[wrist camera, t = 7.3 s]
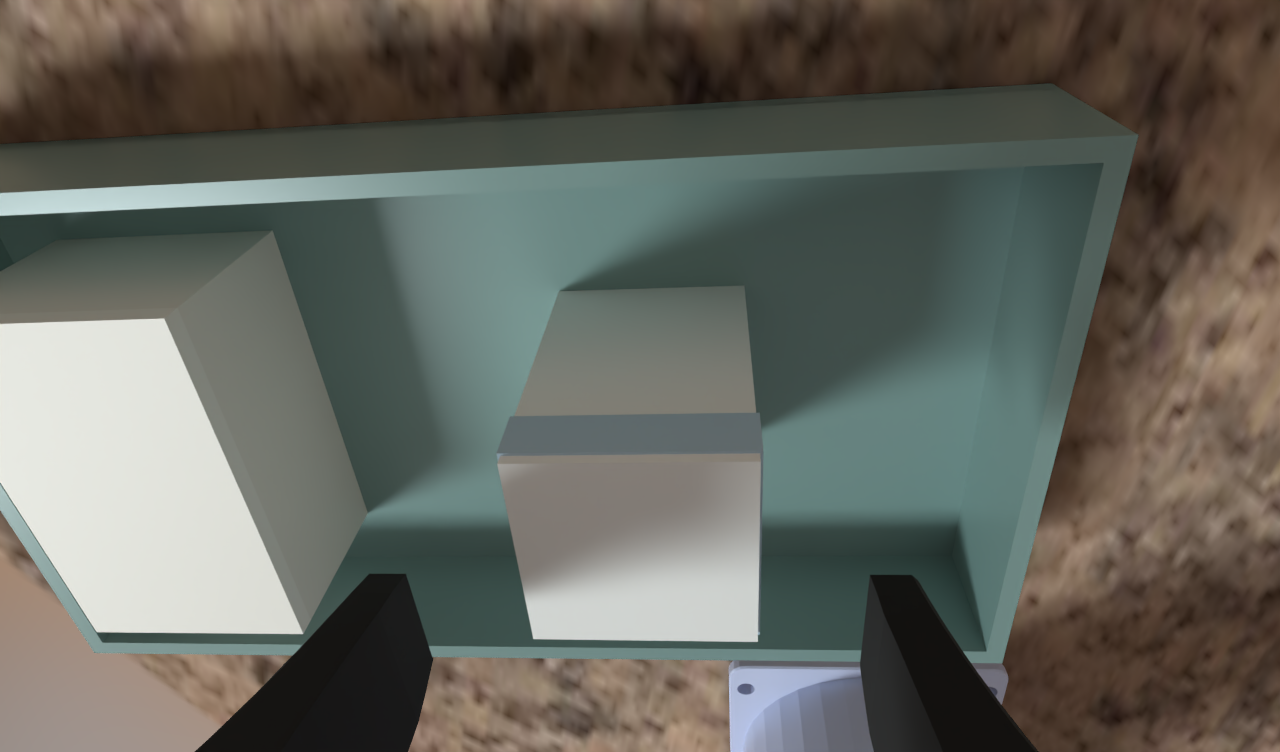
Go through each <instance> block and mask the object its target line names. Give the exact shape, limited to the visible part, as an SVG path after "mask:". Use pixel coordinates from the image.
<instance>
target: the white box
mask: <svg viewBox="0 0 1280 752" xmlns="http://www.w3.org/2000/svg"><path fill="white" fill-rule="evenodd" d="M0 483H1V484H2V486H3V488H4V489H5V491H6V492H7V494H8V495H9V497H10V498H11V500H12V502H13V503H14V505H15V506H16V508H17V509H18V511H19V512H20V514H21V516H22V517H23V519H24V520H25V522H26V523H27V525H28V526H29V528H30V529H31V531H32V533H33V534H34V536H35V537H36V539H37V540H38V542H39V543H40V545H41V547H42V548H43V550H44V551H45V553H46V554H47V556H48V557H49V559H50V561H51V562H52V564H53V565H54V567H55V568H56V570H57V571H58V573H59V574H60V576H61V578H62V579H63V581H64V582H65V584H66V585H67V587H68V588H69V590H70V592H71V593H72V595H73V596H74V598H75V599H76V601H77V602H78V604H79V606H80V607H81V609H82V610H83V612H84V613H85V615H86V616H87V618H88V619H89V621H90V623H91V624H92V626H93V627H94V629H95V630H96V632H123V633H238V634H304V632H305V630H306V628H307V626H308V624H309V623H310V621H311V619H312V617H313V615H314V613H315V611H316V609H317V608H318V606H319V604H320V602H321V600H322V598H323V596H324V594H325V593H326V591H327V589H328V587H329V585H330V583H331V581H332V579H333V578H334V576H335V574H336V572H337V570H338V568H339V566H340V564H341V563H342V561H343V559H344V557H345V555H346V553H347V551H348V549H349V548H350V546H351V544H352V542H353V540H354V538H355V536H356V534H357V533H358V531H359V529H360V527H361V525H362V523H363V521H364V519H365V518H366V516H367V514H368V512H367V509H366V506H365V503H364V500H363V497H362V494H361V491H360V488H359V485H358V482H357V479H356V476H355V473H354V471H353V468H352V465H351V462H350V459H349V456H348V453H347V450H346V447H345V444H344V441H343V438H342V435H341V432H340V429H339V426H338V423H337V420H336V417H335V414H334V411H333V408H332V405H331V402H330V399H329V396H328V393H327V390H326V387H325V384H324V381H323V379H322V376H321V373H320V370H319V367H318V364H317V361H316V358H315V355H314V352H313V349H312V346H311V343H310V340H309V337H308V334H307V331H306V328H305V325H304V322H303V319H302V316H301V313H300V310H299V307H298V304H297V301H296V298H295V295H294V292H293V289H292V286H291V284H290V281H289V278H288V275H287V272H286V269H285V266H284V263H283V260H282V257H281V254H280V251H279V248H278V245H277V242H276V239H275V236H274V233H273V230H270V231H248V232H225V233H203V234H180V235H158V236H135V237H113V238H90V239H67V240H56V241H54V242H52V243H50V244H49V245H47V246H45V247H43V248H42V249H40V250H38V251H36V252H34V253H33V254H31V255H29V256H27V257H25V258H24V259H22V260H20V261H18V262H16V263H15V264H13V265H11V266H9V267H7V268H6V269H4V270H2V271H0Z"/></svg>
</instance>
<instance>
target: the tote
mask: <svg viewBox="0 0 1280 752" xmlns="http://www.w3.org/2000/svg"><path fill="white" fill-rule="evenodd" d="M1138 136H1139V135H1138V134H1136V133H1135V132H1133V131H1131V130H1130V129H1128V128H1126V127H1125V126H1123V125H1121V124H1120V123H1118V122H1116V121H1114V120H1113V119H1111V118H1109V117H1108V116H1106V115H1104V114H1103V113H1101V112H1099V111H1098V110H1096V109H1094V108H1093V107H1091V106H1089V105H1088V104H1086V103H1084V102H1082V101H1081V100H1079V99H1077V98H1076V97H1074V96H1072V95H1071V94H1069V93H1067V92H1066V91H1064V90H1062V89H1061V88H1059V87H1057V86H1056V85H1054V84H1052V83H1048V84H1031V85H1013V86H996V87H979V88H961V89H944V90H927V91H910V92H892V93H875V94H858V95H840V96H823V97H806V98H788V99H771V100H754V101H737V102H719V103H702V104H685V105H667V106H650V107H633V108H615V109H598V110H581V111H564V112H546V113H529V114H512V115H494V116H477V117H460V118H442V119H425V120H408V121H391V122H373V123H356V124H339V125H321V126H304V127H287V128H269V129H252V130H235V131H218V132H200V133H183V134H166V135H148V136H131V137H114V138H97V139H79V140H62V141H45V142H27V143H10V144H0V271H2V270H4V269H6V268H7V267H9V266H11V265H13V264H15V263H16V262H18V261H20V260H22V259H24V258H25V257H27V256H29V255H31V254H33V253H34V252H36V251H38V250H40V249H42V248H43V247H45V246H47V245H49V244H50V243H52V242H54V241H56V240H67V239H90V238H113V237H135V236H158V235H180V234H203V233H225V232H248V231H270V230H273V233H274V236H275V239H276V242H277V245H278V248H279V251H280V254H281V257H282V260H283V263H284V266H285V269H286V272H287V275H288V278H289V281H290V284H291V286H292V289H293V292H294V295H295V298H296V301H297V304H298V307H299V310H300V313H301V316H302V319H303V322H304V325H305V328H306V331H307V334H308V337H309V340H310V343H311V346H312V349H313V352H314V355H315V358H316V361H317V364H318V367H319V370H320V373H321V376H322V379H323V381H324V384H325V387H326V390H327V393H328V396H329V399H330V402H331V405H332V408H333V411H334V414H335V417H336V420H337V423H338V426H339V429H340V432H341V435H342V438H343V441H344V444H345V447H346V450H347V453H348V456H349V459H350V462H351V465H352V468H353V471H354V473H355V476H356V479H357V482H358V485H359V488H360V491H361V494H362V497H363V500H364V503H365V506H366V509H367V512H368V514H367V516H366V518H365V519H364V521H363V523H362V525H361V527H360V529H359V531H358V533H357V534H356V536H355V538H354V540H353V542H352V544H351V546H350V548H349V549H348V551H347V553H346V555H345V557H344V559H343V561H342V563H341V564H340V566H339V568H338V570H337V572H336V574H335V576H334V578H333V579H332V581H331V583H330V585H329V587H328V589H327V591H326V593H325V594H324V596H323V598H322V600H321V602H320V604H319V606H318V608H317V609H316V611H315V613H314V615H313V617H312V619H311V621H310V623H309V624H308V626H307V628H306V630H305V632H304V634H238V633H123V632H96V630H95V629H94V627H93V626H92V624H91V623H90V621H89V619H88V618H87V616H86V615H85V613H84V612H83V610H82V609H81V607H80V606H79V604H78V602H77V601H76V599H75V598H74V596H73V595H72V593H71V592H70V590H69V588H68V587H67V585H66V584H65V582H64V581H63V579H62V578H61V576H60V574H59V573H58V571H57V570H56V568H55V567H54V565H53V564H52V562H51V561H50V559H49V557H48V556H47V554H46V553H45V551H44V550H43V548H42V547H41V545H40V543H39V542H38V540H37V539H36V537H35V536H34V534H33V533H32V531H31V529H30V528H29V526H28V525H27V523H26V522H25V520H24V519H23V517H22V516H21V514H20V512H19V511H18V509H17V508H16V506H15V505H14V503H13V502H12V500H11V498H10V497H9V495H8V494H7V492H6V491H5V489H4V488H3V486H2V484H1V483H0V510H1V512H2V513H3V515H4V516H5V518H6V519H7V521H8V523H9V524H10V526H11V527H12V529H13V530H14V532H15V533H16V535H17V536H18V538H19V539H20V541H21V542H22V544H23V545H24V547H25V548H26V550H27V551H28V553H29V554H30V556H31V557H32V559H33V560H34V562H35V563H36V565H37V566H38V568H39V569H40V571H41V572H42V574H43V576H44V577H45V579H46V580H47V582H48V583H49V585H50V586H51V588H52V589H53V591H54V592H55V594H56V595H57V597H58V598H59V600H60V601H61V603H62V604H63V606H64V607H65V609H66V610H67V612H68V613H69V615H70V616H71V618H72V619H73V621H74V622H75V624H76V625H77V627H78V629H79V630H80V631H81V633H82V635H83V636H84V637H85V639H86V641H87V642H88V644H89V645H90V647H91V648H92V650H93V651H94V653H139V654H226V655H294V654H295V652H296V651H297V650H298V649H299V648H300V647H301V646H302V645H303V644H304V643H305V642H306V641H307V640H308V639H309V638H310V637H311V635H312V634H313V633H314V632H315V631H316V630H317V629H318V628H319V627H320V626H321V625H322V624H323V622H324V621H325V620H326V619H327V618H328V617H329V616H330V615H331V614H332V613H333V612H334V611H335V609H336V608H337V607H338V606H339V605H340V604H341V603H342V602H343V601H344V600H345V599H346V598H347V596H348V595H349V594H350V593H351V592H352V591H353V590H354V589H355V588H356V587H357V586H358V585H359V584H360V583H361V582H362V581H363V580H364V579H365V578H366V576H367V575H368V574H406V576H407V579H408V582H409V585H410V588H411V591H412V595H413V598H414V601H415V604H416V607H417V610H418V613H419V617H420V620H421V623H422V626H423V629H424V632H425V636H426V639H427V642H428V645H429V648H430V651H431V654H432V657H487V658H574V659H661V660H748V661H835V662H860V659H861V650H862V641H863V632H864V623H865V614H866V605H867V596H868V587H869V578H870V575H913V576H914V577H915V578H916V579H917V580H918V581H919V583H920V584H921V586H922V588H923V589H924V591H925V593H926V595H927V596H928V598H929V600H930V601H931V603H932V604H933V606H934V608H935V609H936V611H937V613H938V614H939V616H940V617H941V619H942V620H943V622H944V624H945V625H946V627H947V628H948V630H949V631H950V633H951V634H952V636H953V637H954V639H955V640H956V642H957V643H958V645H959V646H960V648H961V649H962V651H963V652H964V654H965V655H966V657H967V658H968V659H969V661H970V662H971V663H1002V662H1003V658H1004V654H1005V651H1006V647H1007V643H1008V639H1009V635H1010V631H1011V627H1012V623H1013V620H1014V616H1015V612H1016V608H1017V604H1018V600H1019V596H1020V592H1021V589H1022V585H1023V581H1024V577H1025V573H1026V569H1027V565H1028V561H1029V558H1030V554H1031V550H1032V546H1033V542H1034V538H1035V534H1036V531H1037V527H1038V523H1039V519H1040V515H1041V511H1042V507H1043V503H1044V500H1045V496H1046V492H1047V488H1048V484H1049V480H1050V476H1051V472H1052V469H1053V465H1054V461H1055V457H1056V453H1057V449H1058V445H1059V441H1060V438H1061V434H1062V430H1063V426H1064V422H1065V418H1066V414H1067V410H1068V407H1069V403H1070V399H1071V395H1072V391H1073V387H1074V383H1075V380H1076V376H1077V372H1078V368H1079V364H1080V360H1081V356H1082V352H1083V349H1084V345H1085V341H1086V337H1087V333H1088V329H1089V325H1090V321H1091V318H1092V314H1093V310H1094V306H1095V302H1096V298H1097V294H1098V290H1099V287H1100V283H1101V279H1102V275H1103V271H1104V267H1105V263H1106V259H1107V256H1108V252H1109V248H1110V244H1111V240H1112V236H1113V232H1114V229H1115V225H1116V221H1117V217H1118V213H1119V209H1120V205H1121V201H1122V198H1123V194H1124V190H1125V186H1126V182H1127V178H1128V174H1129V170H1130V167H1131V163H1132V159H1133V155H1134V151H1135V147H1136V143H1137V139H1138ZM714 286H744V287H745V297H746V308H747V319H748V330H749V340H750V351H751V362H752V372H753V383H754V394H755V405H756V413H760V421H761V431H762V441H763V502H762V555H761V609H760V635H758V642H719V641H639V640H560V639H533V635H532V630H531V625H530V620H529V616H528V611H527V606H526V601H525V596H524V591H523V587H522V582H521V577H520V572H519V567H518V562H517V558H516V553H515V548H514V543H513V538H512V533H511V529H510V524H509V519H508V514H507V509H506V504H505V500H504V495H503V490H502V485H501V480H500V475H499V471H498V466H497V463H498V459H497V454H496V453H497V450H498V448H499V445H500V442H501V439H502V437H503V434H504V431H505V428H506V426H507V423H508V420H509V417H510V416H514V415H515V413H516V410H517V407H518V404H519V401H520V399H521V396H522V393H523V390H524V387H525V385H526V382H527V379H528V376H529V373H530V371H531V368H532V365H533V362H534V359H535V357H536V354H537V351H538V348H539V345H540V343H541V340H542V337H543V334H544V331H545V329H546V326H547V323H548V320H549V317H550V315H551V312H552V309H553V306H554V303H555V301H556V298H557V295H558V292H559V291H582V290H615V289H648V288H681V287H714Z"/></svg>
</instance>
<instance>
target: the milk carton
mask: <svg viewBox="0 0 1280 752" xmlns="http://www.w3.org/2000/svg"><path fill="white" fill-rule="evenodd" d="M496 454H497V459H498V463H497V466H498V471H499V475H500V480H501V485H502V490H503V495H504V500H505V504H506V509H507V514H508V519H509V524H510V529H511V533H512V538H513V543H514V548H515V553H516V558H517V562H518V567H519V572H520V577H521V582H522V587H523V591H524V596H525V601H526V606H527V611H528V616H529V620H530V625H531V630H532V635H533V639H560V640H639V641H719V642H758V635H760V609H761V555H762V502H763V441H762V431H761V421H760V413H756V405H755V394H754V383H753V372H752V362H751V351H750V340H749V330H748V319H747V308H746V297H745V287H744V286H714V287H681V288H648V289H615V290H582V291H559V292H558V295H557V298H556V301H555V303H554V306H553V309H552V312H551V315H550V317H549V320H548V323H547V326H546V329H545V331H544V334H543V337H542V340H541V343H540V345H539V348H538V351H537V354H536V357H535V359H534V362H533V365H532V368H531V371H530V373H529V376H528V379H527V382H526V385H525V387H524V390H523V393H522V396H521V399H520V401H519V404H518V407H517V410H516V413H515V415H514V416H510V417H509V420H508V423H507V426H506V428H505V431H504V434H503V437H502V439H501V442H500V445H499V448H498V450H497V453H496Z"/></svg>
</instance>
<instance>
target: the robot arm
mask: <svg viewBox="0 0 1280 752" xmlns="http://www.w3.org/2000/svg"><path fill="white" fill-rule="evenodd" d="M432 662H433V658H432V654H431V651H430V648H429V645H428V642H427V639H426V636H425V632H424V629H423V626H422V623H421V620H420V617H419V613H418V610H417V607H416V604H415V601H414V598H413V595H412V591H411V588H410V585H409V582H408V579H407V576H406V574H368V575H367V576H366V578H365V579H364V580H363V581H362V582H361V583H360V584H359V585H358V586H357V587H356V588H355V589H354V590H353V591H352V592H351V593H350V594H349V595H348V596H347V598H346V599H345V600H344V601H343V602H342V603H341V604H340V605H339V606H338V607H337V608H336V609H335V611H334V612H333V613H332V614H331V615H330V616H329V617H328V618H327V619H326V620H325V621H324V622H323V624H322V625H321V626H320V627H319V628H318V629H317V630H316V631H315V632H314V633H313V634H312V635H311V637H310V638H309V639H308V640H307V641H306V642H305V643H304V644H303V645H302V646H301V647H300V648H299V649H298V650H297V651H296V652H295V654H294V655H293V656H292V657H291V658H290V659H289V660H288V661H287V662H286V663H285V664H284V665H283V666H282V667H281V668H280V669H279V670H278V671H277V672H276V673H275V674H274V675H273V676H272V677H271V678H270V680H269V681H268V682H267V683H266V684H265V685H264V686H263V687H262V688H261V689H260V690H259V691H258V692H257V693H256V694H255V695H254V696H253V697H252V698H251V699H250V700H249V701H248V702H247V703H246V704H245V705H243V706H242V707H241V708H240V709H239V710H238V711H237V712H236V713H235V714H234V715H233V716H232V717H231V718H230V719H229V720H228V721H227V722H226V723H225V724H224V725H223V726H222V727H221V728H220V729H219V730H218V731H217V732H216V733H214V735H212V736H211V737H210V738H209V739H208V740H207V741H206V742H205V743H204V744H203V745H202V746H201V747H199V748H198V749H197V750H196V751H195V752H408V750H409V747H410V744H411V742H412V739H413V736H414V733H415V730H416V727H417V725H418V721H419V717H420V713H421V709H422V705H423V701H424V697H425V693H426V689H427V684H428V680H429V675H430V671H431V666H432ZM1007 684H1008V674H1007V672H1006V669H1005V667H1004V666H1003V664H1001V663H971V662H970V661H969V659H968V658H967V657H966V655H965V654H964V652H963V651H962V649H961V648H960V646H959V645H958V643H957V642H956V640H955V639H954V637H953V636H952V634H951V633H950V631H949V630H948V628H947V627H946V625H945V624H944V622H943V620H942V619H941V617H940V616H939V614H938V613H937V611H936V609H935V608H934V606H933V604H932V603H931V601H930V600H929V598H928V596H927V595H926V593H925V591H924V589H923V588H922V586H921V584H920V583H919V581H918V580H917V579H916V578H915V577H914V576H913V575H870V578H869V587H868V596H867V605H866V614H865V623H864V632H863V641H862V650H861V659H860V662H835V661H748V660H734V661H733V662H732V663H731V664H730V666H729V704H730V752H1038V751H1037V749H1036V748H1035V747H1034V746H1033V744H1032V743H1031V742H1030V741H1029V740H1028V738H1027V737H1026V736H1025V735H1024V733H1023V732H1022V731H1021V730H1020V728H1019V727H1018V726H1017V724H1016V723H1015V722H1014V721H1013V719H1012V718H1011V717H1010V715H1009V714H1008V713H1007V712H1006V710H1005V709H1004V708H1003V706H1002V702H1003V699H1004V695H1005V691H1006V688H1007Z"/></svg>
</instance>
